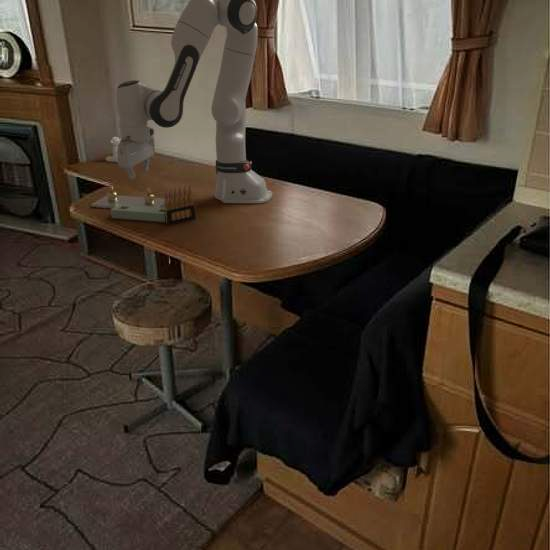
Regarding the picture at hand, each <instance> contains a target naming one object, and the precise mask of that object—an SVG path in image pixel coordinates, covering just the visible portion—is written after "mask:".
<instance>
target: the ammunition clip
mask: <svg viewBox="0 0 550 550" xmlns="http://www.w3.org/2000/svg"><path fill="white" fill-rule="evenodd" d="M173 189H174V190H172V189H171V188H170V189H169V193H168V191H167V189H165V190H164V198H163V199H165V201H164V204H165V207H164V208H165V222H164V223H165V225H167V226H171V225H175V224H180V223H184V222H188V221H192V220H193V221H194V220H196V209H195V205H194V196H193V190H192V187H191V185H190V184H189V185H188V189H187V186H186V185H184V186H183V190H182V188H181V187H180V186H179V187H178V191H177V188H176V187H175V188H173Z"/></svg>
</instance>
